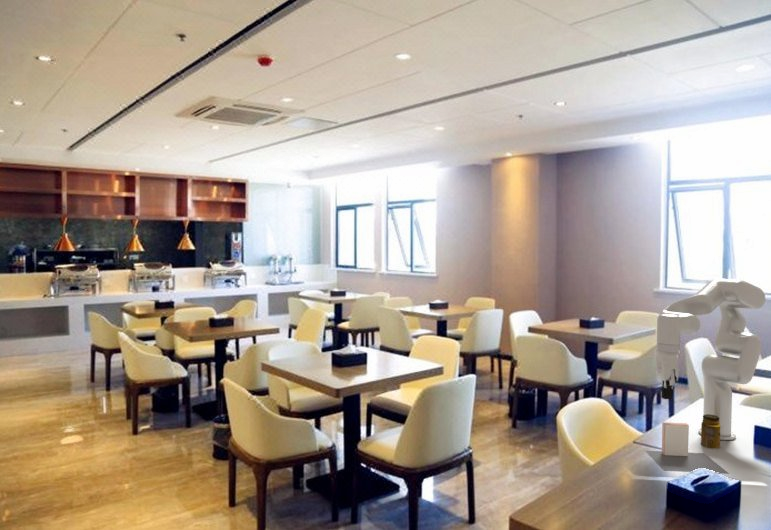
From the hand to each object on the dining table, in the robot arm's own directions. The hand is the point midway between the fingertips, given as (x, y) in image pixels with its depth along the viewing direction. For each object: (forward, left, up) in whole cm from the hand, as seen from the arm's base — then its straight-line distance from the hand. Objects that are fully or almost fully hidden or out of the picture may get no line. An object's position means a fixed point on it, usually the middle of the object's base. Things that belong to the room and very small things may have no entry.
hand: (666, 398), depth 203 cm
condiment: (-3, +16, -19) cm, 25 cm away
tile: (+8, 0, -18) cm, 19 cm away
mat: (+14, +1, -19) cm, 23 cm away
